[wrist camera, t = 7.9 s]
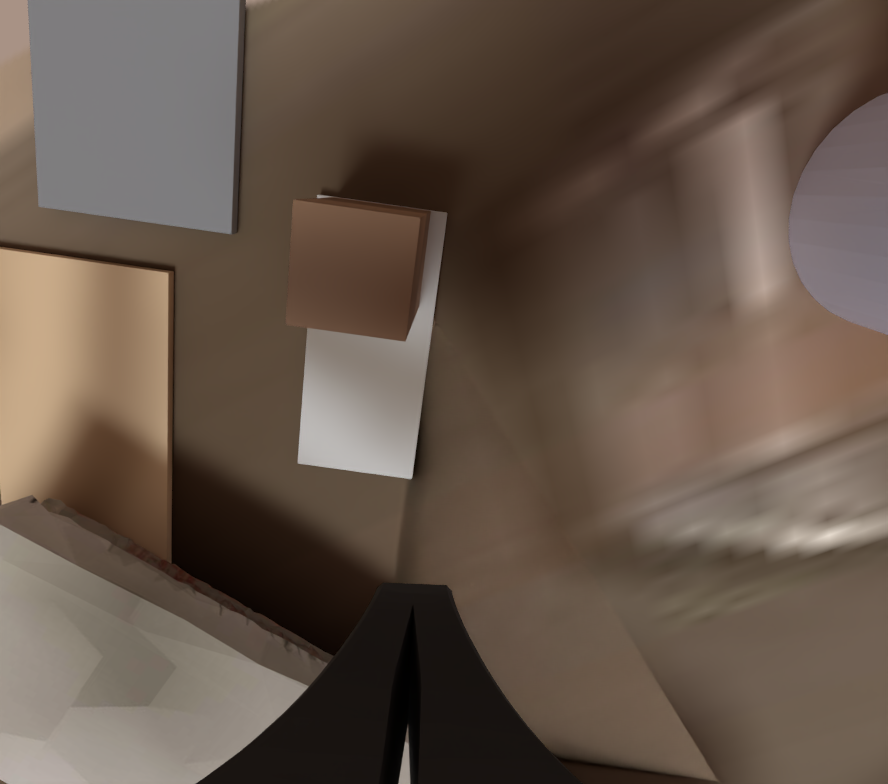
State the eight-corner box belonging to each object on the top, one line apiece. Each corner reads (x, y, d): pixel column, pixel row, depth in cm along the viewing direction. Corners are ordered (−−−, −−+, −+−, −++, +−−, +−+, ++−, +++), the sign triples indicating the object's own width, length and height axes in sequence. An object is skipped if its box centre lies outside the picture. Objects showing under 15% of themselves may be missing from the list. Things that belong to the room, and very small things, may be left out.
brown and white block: (321, 194, 20) (271, 196, 15) (447, 212, 20) (441, 220, 15) (301, 456, 23) (254, 534, 18) (413, 472, 23) (397, 553, 18)
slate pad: (252, -189, 17) (246, -200, 17) (236, 233, 20) (231, 234, 20) (27, -223, 17) (15, -234, 17) (48, 206, 20) (38, 206, 20)
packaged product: (75, 437, 22) (-34, 628, 25) (-25, 507, 18) (-143, 732, 20) (492, 684, 25) (355, 829, 28) (500, 798, 21) (336, 958, 24)
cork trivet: (174, 271, 21) (168, 273, 20) (169, 730, 27) (165, 738, 26) (-11, 245, 21) (-20, 246, 20) (25, 710, 27) (19, 718, 26)
